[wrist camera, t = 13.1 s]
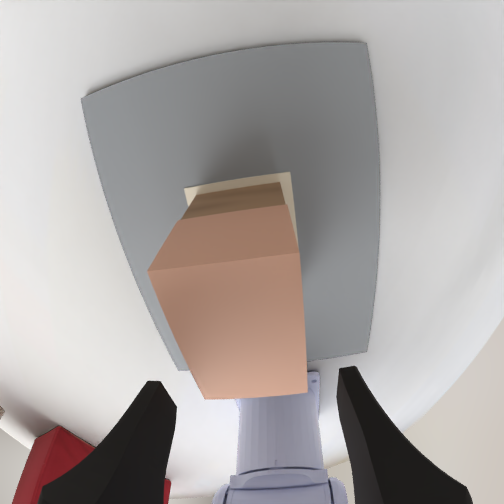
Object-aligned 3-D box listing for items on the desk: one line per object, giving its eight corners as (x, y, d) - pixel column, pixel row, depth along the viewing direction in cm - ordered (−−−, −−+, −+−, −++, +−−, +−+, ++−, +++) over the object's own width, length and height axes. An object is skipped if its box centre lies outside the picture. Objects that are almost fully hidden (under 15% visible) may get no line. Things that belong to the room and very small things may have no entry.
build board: (365, 346, 22) (367, 352, 22) (179, 365, 24) (178, 371, 23) (362, 44, 12) (367, 42, 11) (85, 98, 13) (79, 98, 13)
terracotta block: (299, 330, 15) (307, 392, 11) (214, 339, 15) (204, 399, 12) (287, 204, 12) (299, 252, 8) (177, 220, 12) (146, 271, 9)
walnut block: (292, 288, 19) (299, 332, 15) (222, 297, 19) (215, 341, 15) (279, 181, 15) (286, 207, 12) (196, 195, 16) (178, 224, 12)
